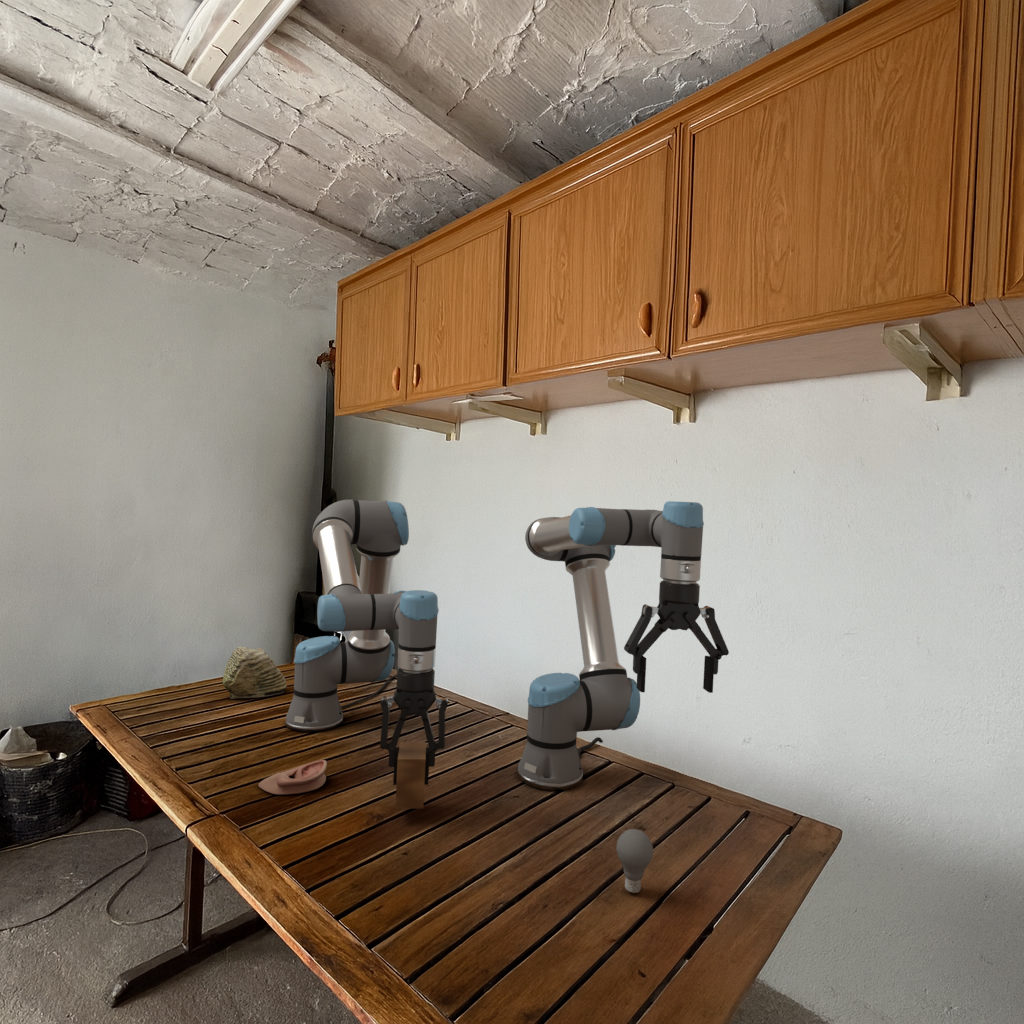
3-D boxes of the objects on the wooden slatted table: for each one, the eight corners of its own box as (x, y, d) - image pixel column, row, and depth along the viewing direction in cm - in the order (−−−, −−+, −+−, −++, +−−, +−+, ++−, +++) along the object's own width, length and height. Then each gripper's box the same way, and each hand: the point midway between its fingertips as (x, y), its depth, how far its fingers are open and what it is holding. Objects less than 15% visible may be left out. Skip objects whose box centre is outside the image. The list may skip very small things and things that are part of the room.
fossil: (218, 695, 195) (220, 647, 195) (278, 685, 208) (279, 640, 207) (228, 703, 189) (230, 653, 188) (289, 692, 201) (290, 645, 201)
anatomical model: (250, 772, 134) (280, 751, 146) (249, 790, 135) (280, 768, 146) (307, 780, 132) (333, 759, 143) (306, 799, 132) (333, 776, 143)
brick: (395, 808, 124) (397, 759, 124) (397, 788, 132) (400, 742, 132) (423, 808, 125) (425, 759, 124) (424, 788, 133) (426, 742, 133)
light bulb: (610, 879, 108) (613, 822, 108) (644, 879, 109) (647, 822, 109) (619, 902, 102) (622, 840, 102) (655, 901, 103) (658, 840, 103)
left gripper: (367, 673, 123) (362, 791, 123) (462, 674, 125) (457, 790, 126) (371, 662, 130) (366, 773, 131) (461, 664, 132) (456, 773, 133)
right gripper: (622, 582, 117) (617, 696, 117) (750, 585, 120) (744, 696, 121) (611, 577, 125) (606, 684, 125) (731, 580, 128) (726, 685, 128)
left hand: (411, 781), depth 128 cm, fingers closed on brick, 5 cm apart
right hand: (674, 690), depth 123 cm, fingers open, 13 cm apart
